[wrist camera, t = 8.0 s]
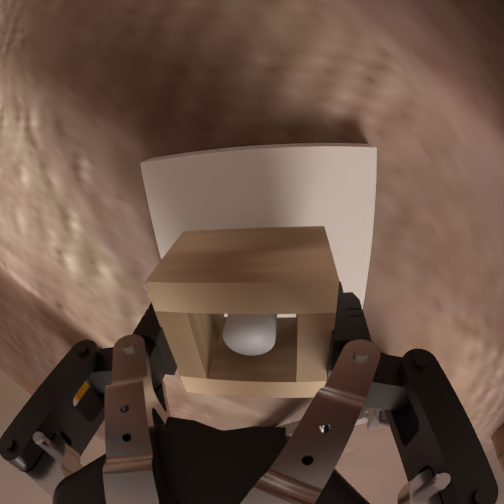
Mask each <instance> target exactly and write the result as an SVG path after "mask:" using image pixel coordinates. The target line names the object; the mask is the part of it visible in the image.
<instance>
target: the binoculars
mask: <svg viewBox="0 0 504 504" xmlns="http://www.w3.org/2000/svg"><path fill="white" fill-rule="evenodd" d="M491 440H492V442H493V445H494V448H495V452H496V455H497V460H496V462H499V464H500V467H501V469H502V471H503V473H504V425H503V426H502V427H501V428H500V429H498V430H497V431H496V432H495V433H494V434H493V435H492V437H491Z"/></svg>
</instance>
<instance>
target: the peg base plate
mask: <svg viewBox="0 0 504 504" xmlns="http://www.w3.org/2000/svg"><path fill="white" fill-rule="evenodd" d="M376 161H377V147H375V146H373V145H370V144H365V143H293V144H271V145H255V146H242V147H230V148H220V149H211V150H202V151H194V152H186V153H179V154H172V155H166V156H159V157H153V158H150V159H148V160H146V161H143V162H141V163H140V165H141V170H142V176H143V181H144V186H145V191H146V196H147V201H148V206H149V210H150V215H151V219H152V224H153V228H154V232H155V237H156V241H157V245H158V249H159V253H160V257H161V260H162V258H163V257H164V256H165V254H166V253H167V252H168V250H169V249H170V248H171V246H172V245H173V244H174V242H175V241H176V240H177V238H178V237H179V236H180V234H181V233H182V232H183V231H197V230H218V229H242V228H270V227H303V226H324V227H325V230H326V234H327V237H328V241H329V244H330V248H331V251H332V255H333V259H334V262H335V266H336V270H337V274H338V277H339V281H340V282H341V285H342V289H343V293H346V292H353V293H354V294H355V295H356V296H357V297H358V298H359V300H360V303H361V306H362V309H363V303H364V297H365V290H366V284H367V277H368V269H369V261H370V253H371V244H372V234H373V222H374V209H375V192H376ZM224 317H227V320H226V323H225V327H224V331H223V339H224V341H225V343H226V345H227V346H228V347H229V348H230V349H232V350H233V351H235V352H237V353H240V354H243V355H249V356H255V355H261V354H264V353H266V352H268V351H269V350H271V349H272V348H273V346H274V344H275V339H276V326H277V318H278V317H296V314H224Z"/></svg>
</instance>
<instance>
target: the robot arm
mask: <svg viewBox="0 0 504 504" xmlns="http://www.w3.org/2000/svg"><path fill="white" fill-rule="evenodd" d="M176 369H177V364H176V362H175V359H174V357H173V354H172V352H171V349H170V347H169V344H168V342H167V339H166V336H165V334H164V331H163V328H162V327H160V324H159V322H158V319H157V316H156V313H155V310H154V308H153V305H152V302H151V304H150V306H149V309H147V311H146V312H145V315H144V316H143V317H142V319H141V321H140V322H139V324H138V326H137V327H136V329H135V331H134V332H133V334H131V335H126V336H124V337H122V338H120V339H119V340H118V341H117V342H116V343H115V345H114V347H112V348H104V349H98V347H97V345H96V343H95V342H93V341H91V340H84V341H81V342H79V343H77V344H76V345H74V346H73V347H72V349H71V350H70V351H69V352H68V353H67V354H66V355H65V357H64V358H63V359H62V360H61V361H60V362H59V364H58V365H57V366H56V367H55V368H54V370H53V371H52V372H51V373H50V374H49V376H48V377H47V378H46V379H45V380H44V382H43V383H42V384H41V385H40V387H39V388H38V389H37V390H36V392H35V393H34V394H33V395H32V397H31V398H30V399H29V400H28V402H27V403H26V404H25V406H24V407H23V408H22V410H21V411H20V412H19V414H18V415H17V416H16V417H15V419H14V420H13V422H12V423H11V424H10V426H9V427H8V428H7V430H6V431H5V432H4V434H3V435H2V437H1V439H0V454H1V456H2V457H3V458H4V459H5V460H7V461H8V462H9V463H11V464H12V465H13V466H15V467H16V468H17V469H18V470H19V471H21V472H22V473H23V474H25V475H26V476H28V477H29V478H31V479H32V480H34V481H35V482H36V483H37V484H38V485H39V486H41V487H42V488H43V489H44V490H45V491H46V492H47V493H48V494H50V495H51V496H52V497H53V504H370V503H369V502H368V501H366V500H365V499H364V498H363V497H362V496H361V495H360V494H359V493H358V492H357V491H356V490H355V489H354V488H353V487H352V486H351V485H350V484H349V483H348V482H347V481H346V480H345V479H344V478H343V477H342V476H341V475H340V474H339V473H338V472H337V470H336V469H335V466H336V464H337V462H338V460H339V458H340V456H341V454H342V452H343V450H344V448H345V446H346V444H347V442H348V440H349V438H350V435H351V433H352V431H353V429H354V426H355V424H356V422H357V419H358V417H359V415H360V412H361V410H362V407H363V406H367V407H372V408H378V409H384V411H385V414H386V416H387V419H388V422H389V425H390V428H391V430H392V433H393V436H394V439H395V442H396V445H397V448H398V451H399V454H400V457H401V460H402V463H403V466H404V469H405V473H406V475H407V479H408V483H407V484H406V485H405V486H404V487H403V488H402V489H401V490H400V492H399V495H398V500H397V501H398V504H495V503H496V500H497V497H498V486H497V483H496V480H495V478H494V475H493V473H492V470H491V468H490V465H489V463H488V460H487V457H486V455H485V453H484V450H483V448H482V446H481V444H480V441H479V439H478V437H477V435H476V433H475V431H474V428H473V426H472V424H471V422H470V420H469V418H468V416H467V414H466V412H465V410H464V408H463V406H462V404H461V402H460V401H459V399H458V397H457V395H456V393H455V391H454V389H453V388H452V386H451V384H450V382H449V380H448V379H447V377H446V375H445V373H444V371H443V370H442V368H441V366H440V365H439V363H438V361H437V359H436V358H435V356H434V355H433V354H431V353H430V352H428V351H426V350H423V349H412V350H410V351H408V352H407V353H406V354H405V355H404V356H403V357H397V356H391V355H387V354H384V353H382V352H380V350H379V348H378V347H377V346H376V345H375V344H374V343H372V341H371V338H370V334H369V330H368V327H367V323H366V320H365V316H364V313H363V310H362V306H361V303H360V300H359V298H358V297H357V296H356V295H355V294H354V293H353V292H346V293H343V289H342V285H341V282H340V281H339V289H338V300H337V309H336V318H335V326H334V330H332V335H331V342H330V350H329V357H328V364H327V371H326V372H327V382H326V384H325V386H324V387H323V389H322V388H320V389H319V390H318V392H317V393H316V395H315V397H314V398H313V400H312V402H311V404H310V405H309V407H308V409H307V411H306V412H305V414H304V416H303V417H302V419H301V421H300V422H299V424H298V426H297V427H296V429H295V431H294V432H293V434H292V435H291V436H289V435H286V427H257V426H254V427H248V428H241V429H234V430H226V431H222V430H218V429H216V428H213V427H210V426H207V425H204V424H202V423H199V422H196V421H193V420H186V419H180V418H174V417H171V416H170V411H169V406H168V401H167V395H166V389H165V384H164V381H163V378H164V375H165V374H168V375H174V374H175V372H176ZM85 381H86V383H87V384H88V385H89V388H88V389H87V391H86V392H85V393H84V395H83V396H82V398H81V399H80V400H79V402H78V403H77V404H76V406H74V404H73V399H74V396H75V395H76V393H77V392H78V391H79V389H80V388H81V387H82V385H83V384H84V383H85ZM104 419H105V445H106V454H104V455H103V456H101V457H99V458H98V459H96V460H94V461H93V462H91V463H89V464H88V465H86V466H84V467H82V465H81V464H80V456H81V455H82V453H83V452H84V450H85V448H86V447H87V445H88V444H89V442H90V440H91V439H92V437H93V436H94V434H95V433H96V431H97V430H98V428H99V426H100V425H101V423H102V422H103V420H104Z"/></svg>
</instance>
